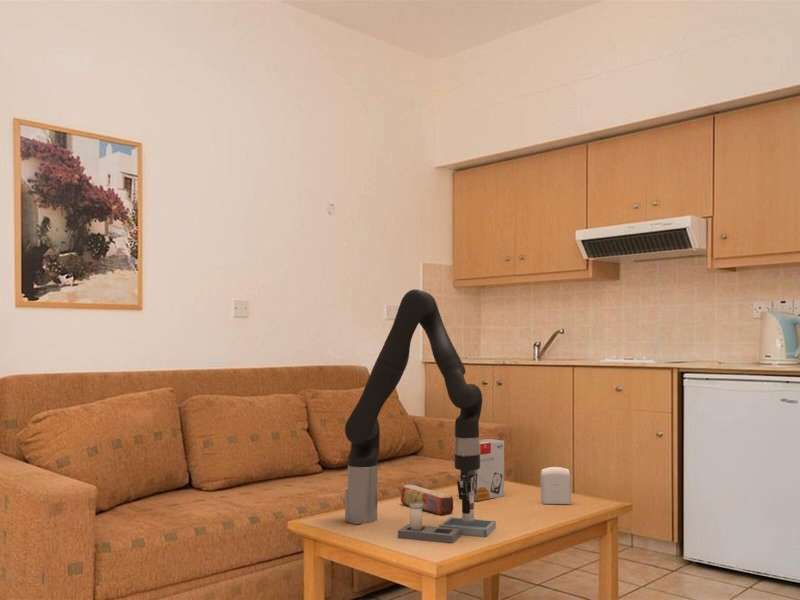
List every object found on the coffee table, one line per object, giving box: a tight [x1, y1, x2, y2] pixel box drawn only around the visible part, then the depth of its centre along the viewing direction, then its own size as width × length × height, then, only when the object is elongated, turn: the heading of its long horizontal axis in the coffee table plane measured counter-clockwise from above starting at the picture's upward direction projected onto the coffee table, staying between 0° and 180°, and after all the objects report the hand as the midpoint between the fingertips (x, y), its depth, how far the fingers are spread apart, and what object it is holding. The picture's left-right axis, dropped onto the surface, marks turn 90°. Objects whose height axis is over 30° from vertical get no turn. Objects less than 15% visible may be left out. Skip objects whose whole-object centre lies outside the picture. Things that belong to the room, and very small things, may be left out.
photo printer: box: [540, 466, 572, 505], centre depth 254 cm, size 10×4×12 cm, turn 84°
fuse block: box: [397, 523, 462, 544], centre depth 209 cm, size 16×8×2 cm, turn 69°
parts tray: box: [438, 516, 497, 538], centre depth 216 cm, size 14×11×2 cm
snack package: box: [400, 484, 454, 516], centre depth 246 cm, size 21×7×7 cm, turn 38°
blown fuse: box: [461, 489, 475, 522], centre depth 217 cm, size 4×4×9 cm
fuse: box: [409, 502, 423, 531], centre depth 211 cm, size 4×4×9 cm
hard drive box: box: [474, 438, 505, 502], centre depth 264 cm, size 16×8×20 cm, turn 132°
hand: (467, 511), depth 217 cm, fingers closed on blown fuse, 3 cm apart
